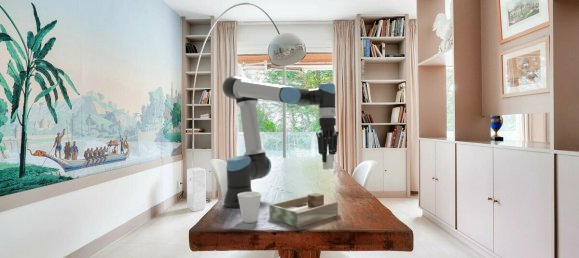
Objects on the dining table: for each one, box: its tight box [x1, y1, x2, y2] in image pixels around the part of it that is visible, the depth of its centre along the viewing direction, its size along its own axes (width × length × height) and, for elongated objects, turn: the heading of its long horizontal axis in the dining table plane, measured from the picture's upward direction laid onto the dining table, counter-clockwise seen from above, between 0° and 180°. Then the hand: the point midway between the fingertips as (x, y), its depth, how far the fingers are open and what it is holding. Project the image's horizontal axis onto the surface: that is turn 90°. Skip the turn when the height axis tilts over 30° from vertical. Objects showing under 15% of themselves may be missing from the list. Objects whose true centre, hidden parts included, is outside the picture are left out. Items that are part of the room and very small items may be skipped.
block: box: [307, 192, 325, 208], centre depth 140 cm, size 5×5×5 cm
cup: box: [237, 191, 262, 224], centre depth 129 cm, size 10×10×11 cm
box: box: [268, 195, 339, 228], centre depth 135 cm, size 18×23×6 cm
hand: (328, 168), depth 145 cm, fingers open, 3 cm apart
